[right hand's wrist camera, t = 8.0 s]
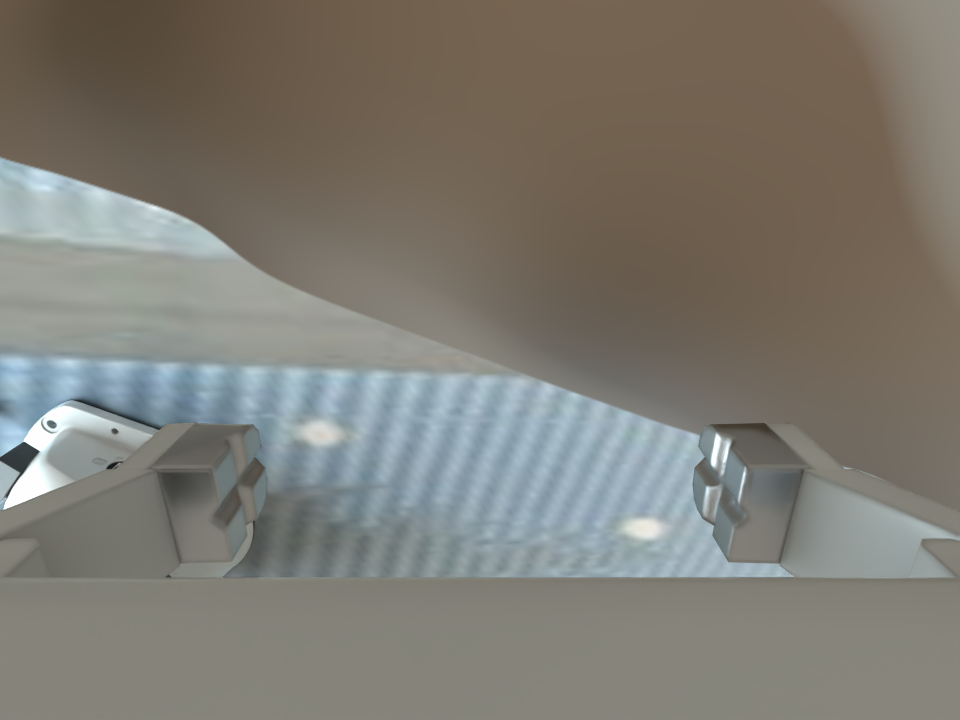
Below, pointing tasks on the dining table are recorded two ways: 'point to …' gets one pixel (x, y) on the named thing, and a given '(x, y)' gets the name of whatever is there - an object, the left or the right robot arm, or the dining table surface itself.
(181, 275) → the dining table surface
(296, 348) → the dining table surface
